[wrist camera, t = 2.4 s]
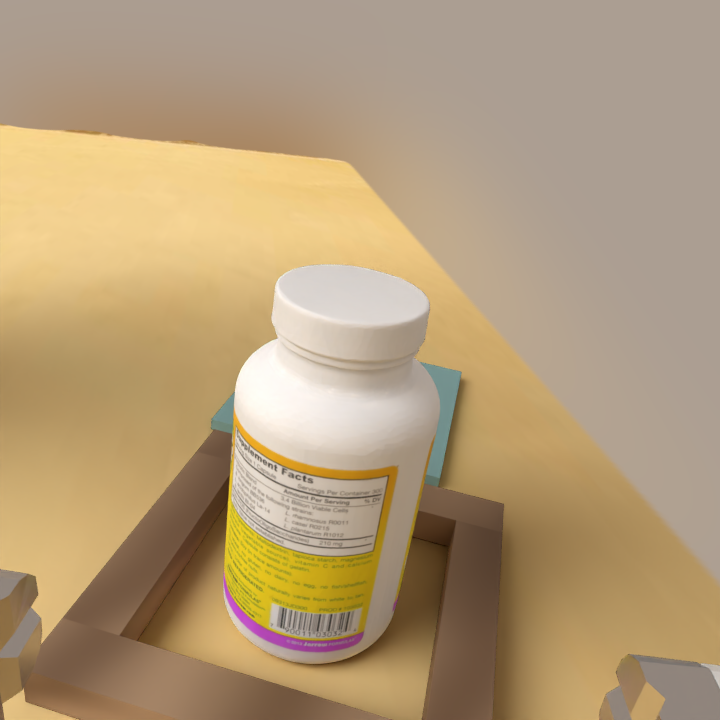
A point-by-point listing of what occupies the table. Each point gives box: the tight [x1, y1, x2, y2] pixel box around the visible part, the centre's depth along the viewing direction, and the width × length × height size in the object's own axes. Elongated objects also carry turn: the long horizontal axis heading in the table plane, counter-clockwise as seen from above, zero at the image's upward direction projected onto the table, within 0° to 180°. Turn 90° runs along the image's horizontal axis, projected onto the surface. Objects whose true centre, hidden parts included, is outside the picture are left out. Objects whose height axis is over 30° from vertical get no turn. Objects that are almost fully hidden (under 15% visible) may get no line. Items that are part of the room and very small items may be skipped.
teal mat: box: [211, 362, 461, 487], centre depth 39 cm, size 12×12×1 cm
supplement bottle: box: [223, 264, 440, 664], centre depth 23 cm, size 7×7×13 cm
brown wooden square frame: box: [24, 429, 504, 720], centre depth 26 cm, size 14×14×2 cm
